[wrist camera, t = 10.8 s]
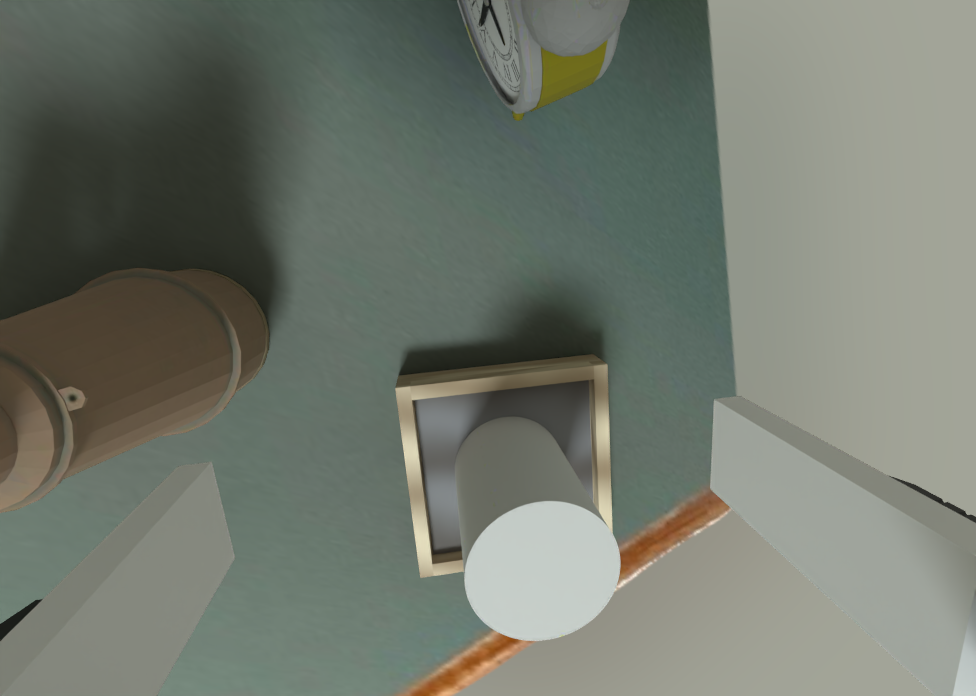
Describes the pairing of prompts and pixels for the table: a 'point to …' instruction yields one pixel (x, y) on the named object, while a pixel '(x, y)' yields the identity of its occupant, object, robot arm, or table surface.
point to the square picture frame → (486, 396)
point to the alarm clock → (542, 46)
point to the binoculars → (119, 371)
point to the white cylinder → (530, 534)
